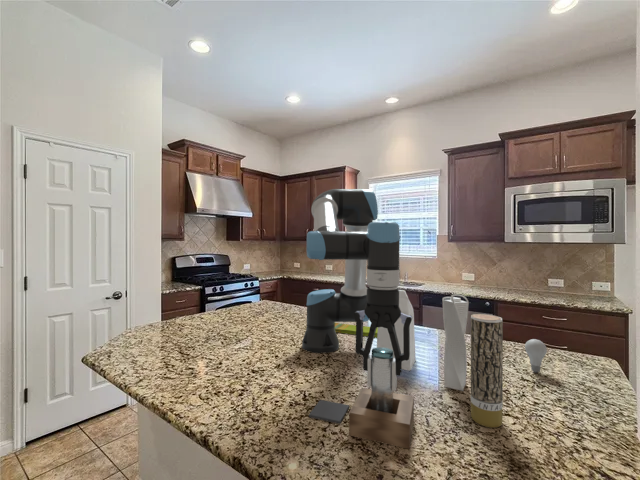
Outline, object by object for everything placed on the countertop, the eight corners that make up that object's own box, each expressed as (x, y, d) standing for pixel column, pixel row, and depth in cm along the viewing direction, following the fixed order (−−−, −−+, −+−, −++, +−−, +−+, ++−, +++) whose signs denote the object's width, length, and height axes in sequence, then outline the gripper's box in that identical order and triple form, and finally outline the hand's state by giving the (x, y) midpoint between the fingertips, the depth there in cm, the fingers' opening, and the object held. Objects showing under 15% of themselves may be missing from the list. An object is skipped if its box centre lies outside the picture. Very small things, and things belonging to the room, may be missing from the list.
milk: (415, 359, 116) (415, 289, 116) (410, 370, 105) (410, 293, 106) (383, 354, 121) (383, 287, 121) (375, 364, 111) (376, 291, 111)
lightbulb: (543, 370, 107) (543, 337, 107) (549, 377, 101) (549, 343, 101) (522, 367, 109) (522, 336, 109) (527, 374, 103) (527, 341, 103)
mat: (308, 417, 76) (308, 414, 76) (320, 401, 84) (320, 399, 84) (340, 423, 74) (340, 421, 74) (349, 407, 81) (349, 405, 81)
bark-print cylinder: (465, 413, 79) (465, 314, 79) (490, 413, 79) (490, 313, 79) (481, 429, 72) (481, 320, 72) (509, 428, 72) (509, 320, 73)
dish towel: (326, 324, 169) (326, 318, 169) (393, 331, 155) (393, 325, 155) (315, 331, 155) (315, 324, 155) (387, 340, 141) (387, 333, 141)
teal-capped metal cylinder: (369, 418, 72) (369, 352, 72) (373, 407, 77) (373, 346, 77) (391, 422, 70) (391, 355, 71) (394, 411, 75) (394, 349, 75)
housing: (348, 435, 69) (348, 412, 69) (361, 406, 82) (361, 387, 82) (409, 448, 65) (409, 424, 65) (413, 416, 77) (413, 396, 77)
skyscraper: (466, 394, 89) (467, 295, 90) (439, 387, 93) (439, 293, 93) (470, 383, 96) (470, 292, 96) (444, 378, 100) (444, 290, 100)
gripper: (341, 287, 73) (340, 386, 73) (422, 292, 67) (421, 400, 67) (349, 283, 80) (349, 374, 80) (423, 287, 74) (422, 385, 74)
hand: (382, 386), depth 74 cm, fingers closed on teal-capped metal cylinder, 5 cm apart
